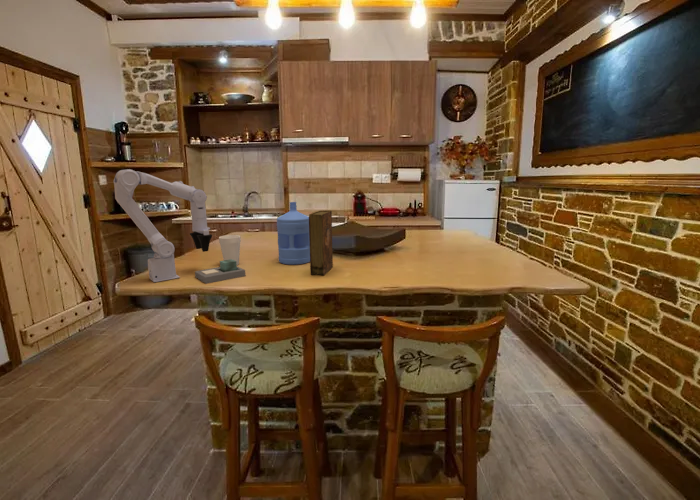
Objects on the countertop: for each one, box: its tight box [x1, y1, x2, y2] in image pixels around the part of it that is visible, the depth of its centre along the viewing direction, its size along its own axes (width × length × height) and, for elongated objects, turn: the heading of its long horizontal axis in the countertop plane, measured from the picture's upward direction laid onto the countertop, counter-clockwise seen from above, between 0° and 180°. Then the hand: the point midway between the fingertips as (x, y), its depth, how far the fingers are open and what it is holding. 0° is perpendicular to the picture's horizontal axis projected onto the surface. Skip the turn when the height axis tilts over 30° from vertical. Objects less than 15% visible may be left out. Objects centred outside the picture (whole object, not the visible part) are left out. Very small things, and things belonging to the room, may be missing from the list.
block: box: [219, 259, 238, 272], centre depth 147 cm, size 5×5×6 cm
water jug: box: [276, 201, 310, 266], centre depth 168 cm, size 16×16×28 cm
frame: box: [194, 266, 246, 284], centre depth 146 cm, size 16×12×3 cm
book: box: [308, 210, 334, 276], centre depth 151 cm, size 16×6×25 cm, turn 168°
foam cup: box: [218, 234, 242, 266], centre depth 165 cm, size 10×9×13 cm
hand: (202, 250), depth 152 cm, fingers open, 7 cm apart
